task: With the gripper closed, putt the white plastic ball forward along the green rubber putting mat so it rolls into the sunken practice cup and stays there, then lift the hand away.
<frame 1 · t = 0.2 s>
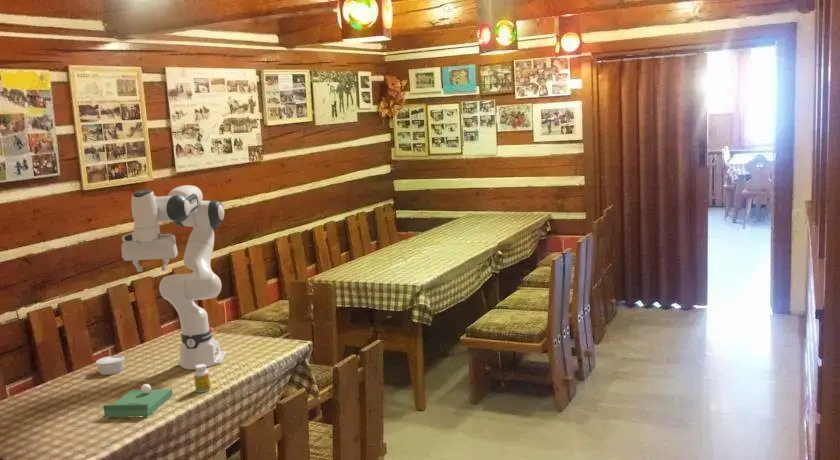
hand: (152, 271, 283), 47 cm above the table, fingers open, 8 cm apart
ramekin: (111, 371, 320), on the table
ball: (146, 388, 283), point 4 cm above the table, touching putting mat
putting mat: (139, 406, 277), on the table
supplement bottle: (203, 390, 290), on the table
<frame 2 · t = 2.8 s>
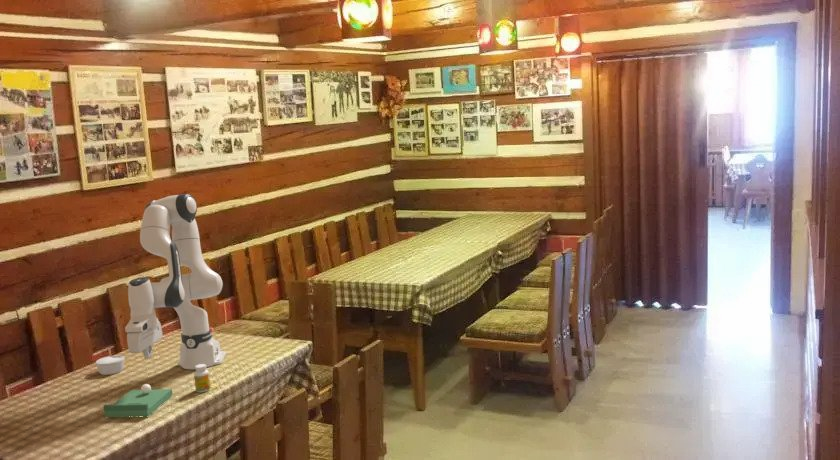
hand: (148, 357, 285), 15 cm above the table, fingers closed
nothing on the table moved.
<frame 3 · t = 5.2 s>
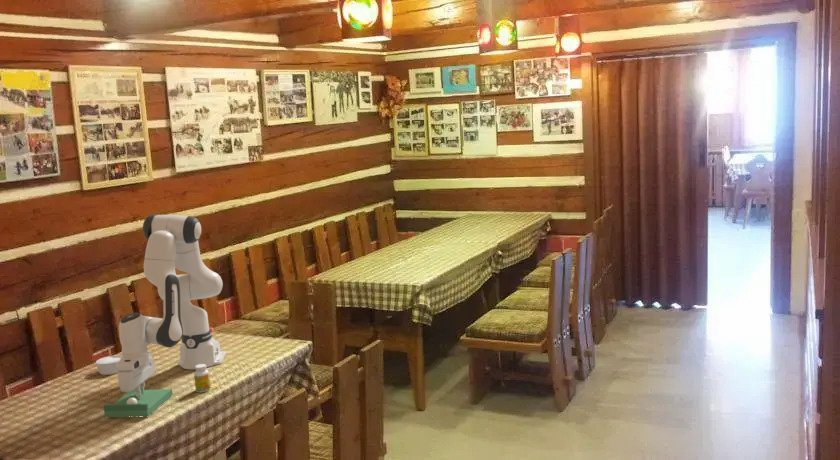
hand: (140, 394, 278), 4 cm above the table, fingers closed
ball: (131, 402, 272), point 3 cm above the table
everything else where it was.
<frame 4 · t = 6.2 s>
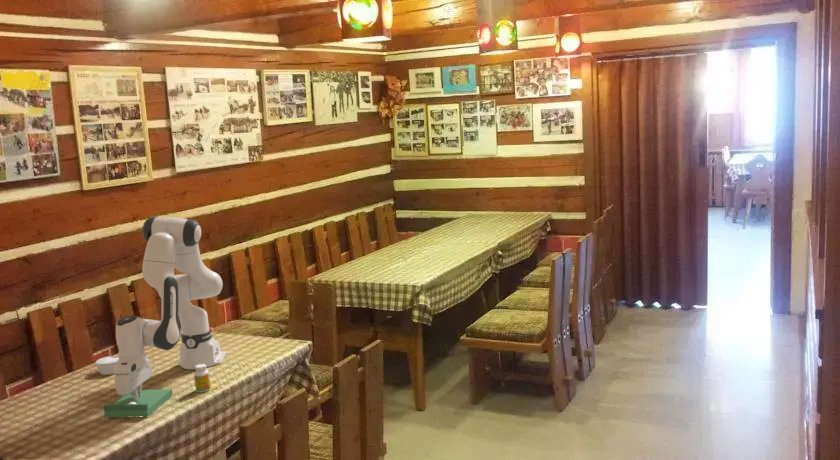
hand: (137, 397, 276), 4 cm above the table, fingers closed
ball: (132, 406, 272), point 2 cm above the table, tilted 20°, touching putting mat
everything else where it was.
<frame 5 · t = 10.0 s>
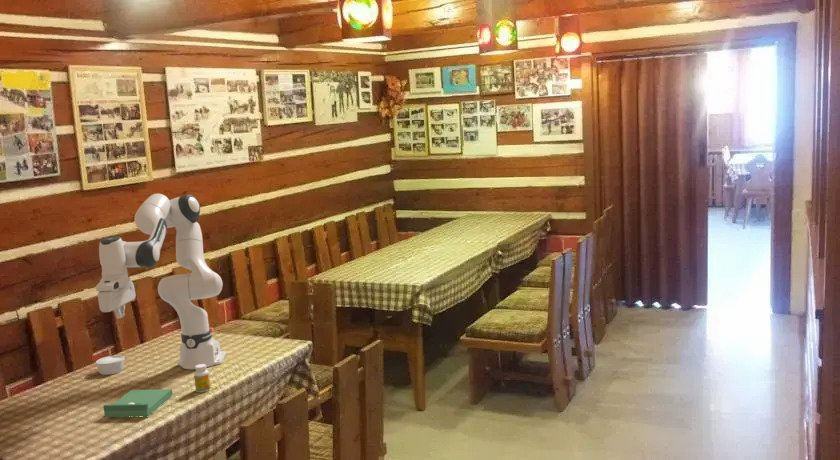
hand: (120, 317, 282), 31 cm above the table, fingers closed
ball: (131, 407, 271), point 2 cm above the table, tilted 43°, touching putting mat
everything else where it was.
at the end: ball 0.1 cm from the target spot on the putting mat, point 2.0 cm above the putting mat's base; ball touching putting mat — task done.
